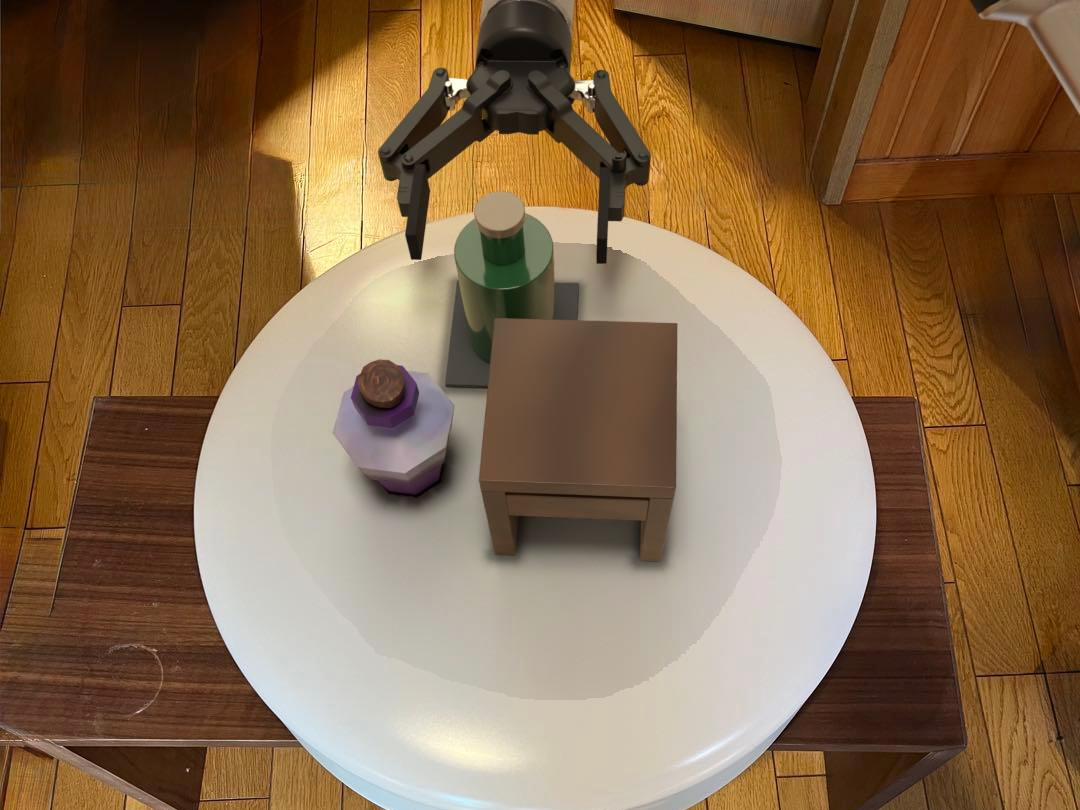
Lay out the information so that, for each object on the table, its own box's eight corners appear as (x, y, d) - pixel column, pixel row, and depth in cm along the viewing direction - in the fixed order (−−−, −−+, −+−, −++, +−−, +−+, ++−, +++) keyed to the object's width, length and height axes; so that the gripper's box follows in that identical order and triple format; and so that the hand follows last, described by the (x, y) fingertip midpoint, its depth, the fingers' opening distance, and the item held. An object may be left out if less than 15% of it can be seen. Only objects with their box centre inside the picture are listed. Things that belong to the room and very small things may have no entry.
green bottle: (563, 301, 78) (560, 175, 65) (548, 375, 75) (541, 258, 63) (478, 291, 79) (459, 164, 66) (460, 363, 76) (437, 245, 63)
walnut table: (663, 416, 74) (677, 322, 63) (661, 561, 69) (676, 488, 58) (507, 411, 75) (494, 317, 64) (494, 554, 70) (478, 480, 59)
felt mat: (578, 286, 79) (578, 282, 79) (573, 391, 75) (572, 388, 75) (457, 282, 80) (457, 279, 79) (445, 386, 76) (444, 384, 75)
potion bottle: (345, 429, 75) (304, 339, 64) (454, 405, 75) (432, 310, 64) (363, 528, 71) (323, 451, 60) (477, 502, 72) (458, 420, 61)
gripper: (677, 77, 80) (676, 286, 72) (381, 74, 82) (347, 278, 74) (686, -5, 74) (687, 216, 65) (362, -6, 75) (323, 209, 67)
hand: (506, 250), depth 69 cm, fingers open, 13 cm apart
